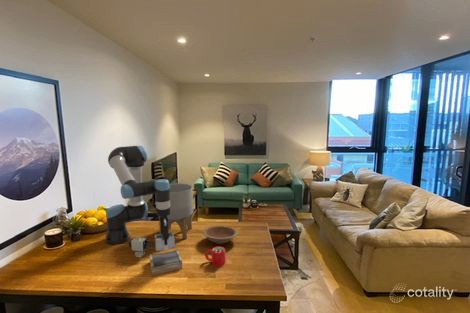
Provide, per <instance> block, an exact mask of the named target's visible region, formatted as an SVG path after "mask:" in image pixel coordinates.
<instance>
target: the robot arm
mask: <svg viewBox="0 0 470 313" xmlns="http://www.w3.org/2000/svg"><path fill="white" fill-rule="evenodd" d="M108 154H109V155H108V157H107V162H108V165H109V166H110V168H112V169H113V170H114V172H115V174H116V176H117V178H118V181H119V183H120V184H121V186H120V194H121V198H122V199H123V200H126V199H129V200H128V201H127V204H126V205H124V204H115V205H112V206H110V207H108V208H107V209H106V211H105V218H106V228H107V229H106V233H105V237H104V240H105V243H106V244H108V245H117V244H121V243H124V242H126V241H128V240H129V239H130V233H129V231H128V229H127V224H128V223H133V222H136V221H142V220H144V219H146V218H147V217H148V212H149V208H148V204H147V202H145V200H144V199H143V197H144V196H149V195H150V196H151V195H155V202H154V205H155V208H156V210H155V213H156V216H157V217H159V216H160V217H159V218H160V227H161V233H162V234H163V239H162V240H163V251H167V250H170V249H168V239H169V237H168V233H169V229H168V218H167V216H168V215H170V190H169V188H170V186H169V184H170V181H169V180H168V179H163V178H162V179H161V178H160V179H156V178H154V179H152V178H150V179H149V180H148V181H143V168H144V166H145V163H147V161H148V155H147V154H148V153H147V150H146V149H145V147H144V146H143V145H129V146H127V145H126V146H118V147H115V148H114V149H112V151H110V153H108ZM160 227H159V228H160Z"/></svg>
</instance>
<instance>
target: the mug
mask: <svg viewBox="0 0 470 313" xmlns="http://www.w3.org/2000/svg"><path fill="white" fill-rule="evenodd" d="M209 253H211V257H209V256H208V254H209ZM204 256H205V260H207V261H209V262H211V264H212V265H213V266H215V267H222V266H224V265H225V264H226V248H225V247H223V246H215V247H213V248H212V249H208V250H206V251H205V253H204Z"/></svg>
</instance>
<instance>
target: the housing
mask: <svg viewBox="0 0 470 313" xmlns="http://www.w3.org/2000/svg"><path fill="white" fill-rule="evenodd" d="M168 237H169V239H168V249H169V250H171V249H172V250H174V249H176V247H175V246H176V245H175V242H176V241H175V240H176V239H175V235H174V233H173V231H171V232H168ZM162 239H163V234H160V233H159V234H155V235H154V248H155V252H162V251H163V252H164V250H163V240H162Z"/></svg>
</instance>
